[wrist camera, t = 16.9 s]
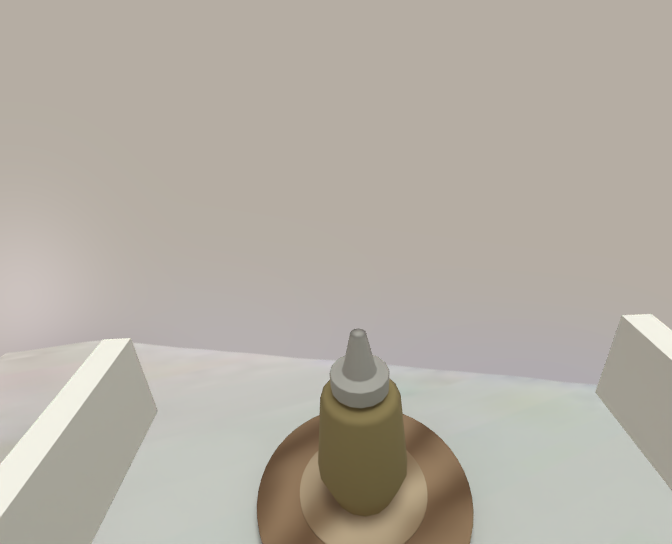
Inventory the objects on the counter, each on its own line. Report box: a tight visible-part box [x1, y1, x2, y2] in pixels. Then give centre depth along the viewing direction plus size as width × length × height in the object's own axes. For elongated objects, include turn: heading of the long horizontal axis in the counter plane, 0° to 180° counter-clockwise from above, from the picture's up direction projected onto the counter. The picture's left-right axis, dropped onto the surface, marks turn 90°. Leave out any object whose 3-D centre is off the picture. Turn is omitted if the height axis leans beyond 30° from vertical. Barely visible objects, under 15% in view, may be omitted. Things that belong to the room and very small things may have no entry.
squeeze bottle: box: [318, 329, 407, 517], centre depth 33 cm, size 8×8×18 cm
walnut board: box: [257, 414, 473, 544], centre depth 38 cm, size 20×20×2 cm
